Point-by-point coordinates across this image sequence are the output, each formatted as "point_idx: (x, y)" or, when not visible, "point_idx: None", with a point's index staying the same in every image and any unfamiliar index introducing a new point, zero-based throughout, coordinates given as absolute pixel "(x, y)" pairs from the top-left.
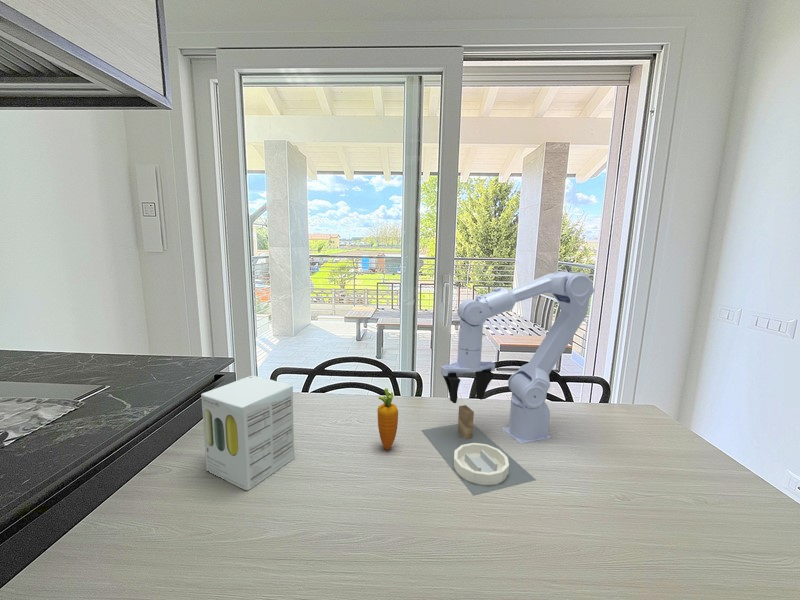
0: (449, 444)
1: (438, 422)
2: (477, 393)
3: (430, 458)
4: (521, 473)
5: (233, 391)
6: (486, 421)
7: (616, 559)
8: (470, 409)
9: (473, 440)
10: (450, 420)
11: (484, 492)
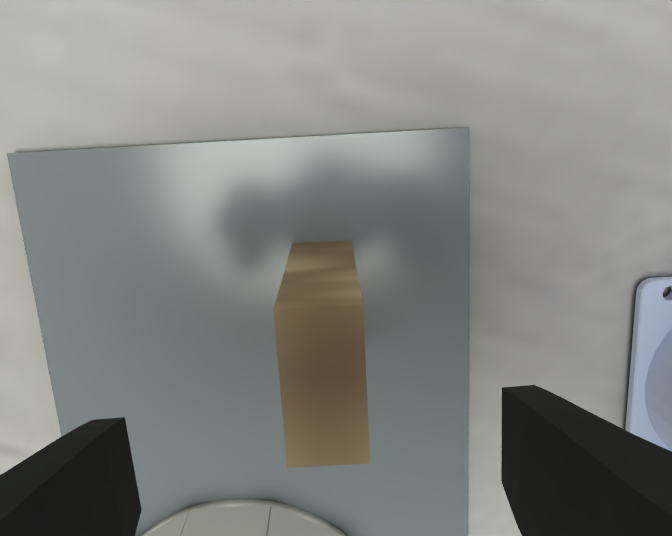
0: (162, 385)
1: (205, 33)
2: (520, 444)
3: (8, 462)
4: None
5: None
6: (612, 125)
7: None
8: (362, 411)
9: None
10: (323, 26)
11: None
